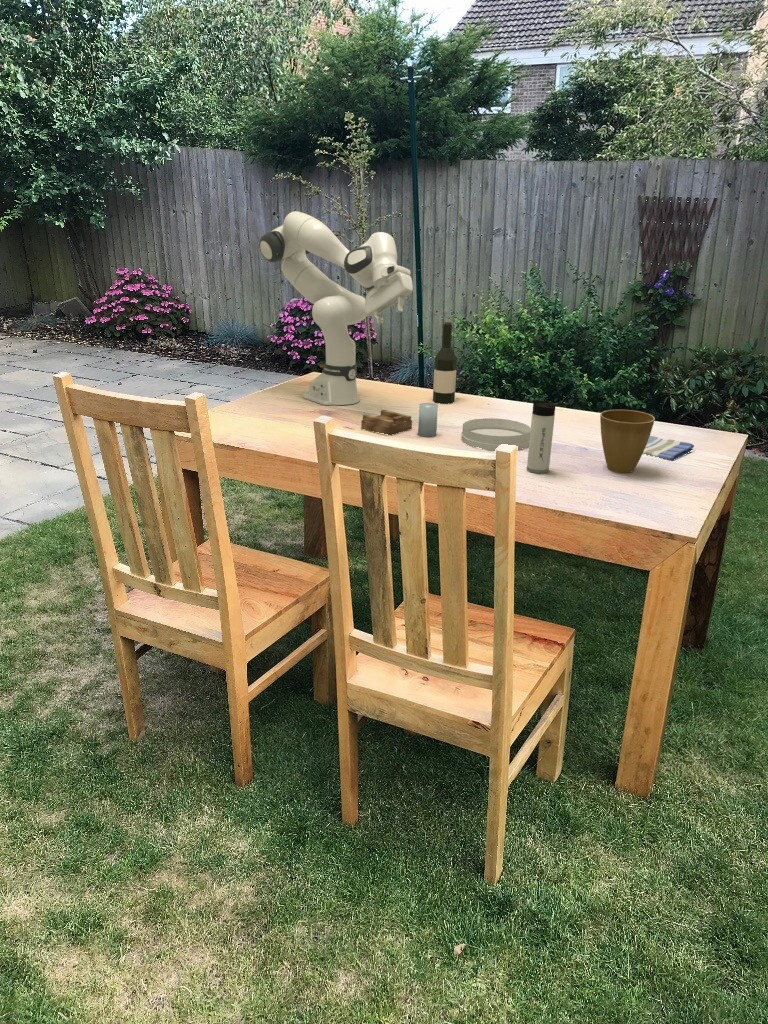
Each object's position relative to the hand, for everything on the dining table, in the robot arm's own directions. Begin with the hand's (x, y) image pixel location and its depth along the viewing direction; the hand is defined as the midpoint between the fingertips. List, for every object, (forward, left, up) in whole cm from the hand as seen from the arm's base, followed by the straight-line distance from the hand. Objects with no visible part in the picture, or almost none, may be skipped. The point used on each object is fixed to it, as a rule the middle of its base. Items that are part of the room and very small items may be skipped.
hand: (390, 317), depth 255 cm
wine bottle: (-6, +41, -36) cm, 54 cm away
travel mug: (+63, -8, -36) cm, 73 cm away
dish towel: (+77, +38, -36) cm, 93 cm away
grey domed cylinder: (+18, -1, -36) cm, 40 cm away
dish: (+38, +9, -36) cm, 53 cm away
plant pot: (+80, +10, -36) cm, 88 cm away
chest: (+4, -5, -36) cm, 36 cm away
